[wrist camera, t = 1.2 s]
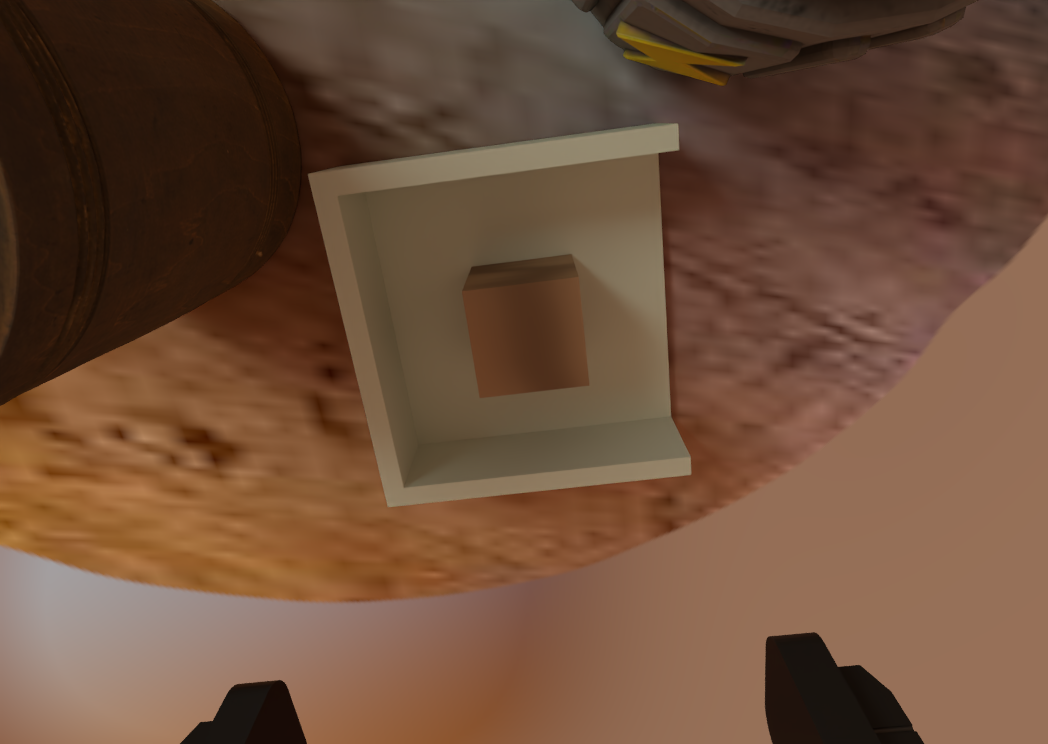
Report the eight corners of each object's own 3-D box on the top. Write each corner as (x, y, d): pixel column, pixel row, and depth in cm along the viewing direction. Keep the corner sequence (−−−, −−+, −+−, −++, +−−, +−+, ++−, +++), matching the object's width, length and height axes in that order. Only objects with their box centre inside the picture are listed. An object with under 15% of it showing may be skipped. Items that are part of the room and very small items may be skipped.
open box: (405, 457, 36) (387, 507, 32) (341, 165, 31) (307, 173, 26) (669, 428, 36) (691, 474, 31) (654, 123, 30) (678, 123, 25)
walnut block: (486, 360, 34) (479, 398, 29) (471, 266, 32) (461, 291, 27) (580, 348, 33) (589, 385, 29) (571, 253, 32) (578, 276, 27)
